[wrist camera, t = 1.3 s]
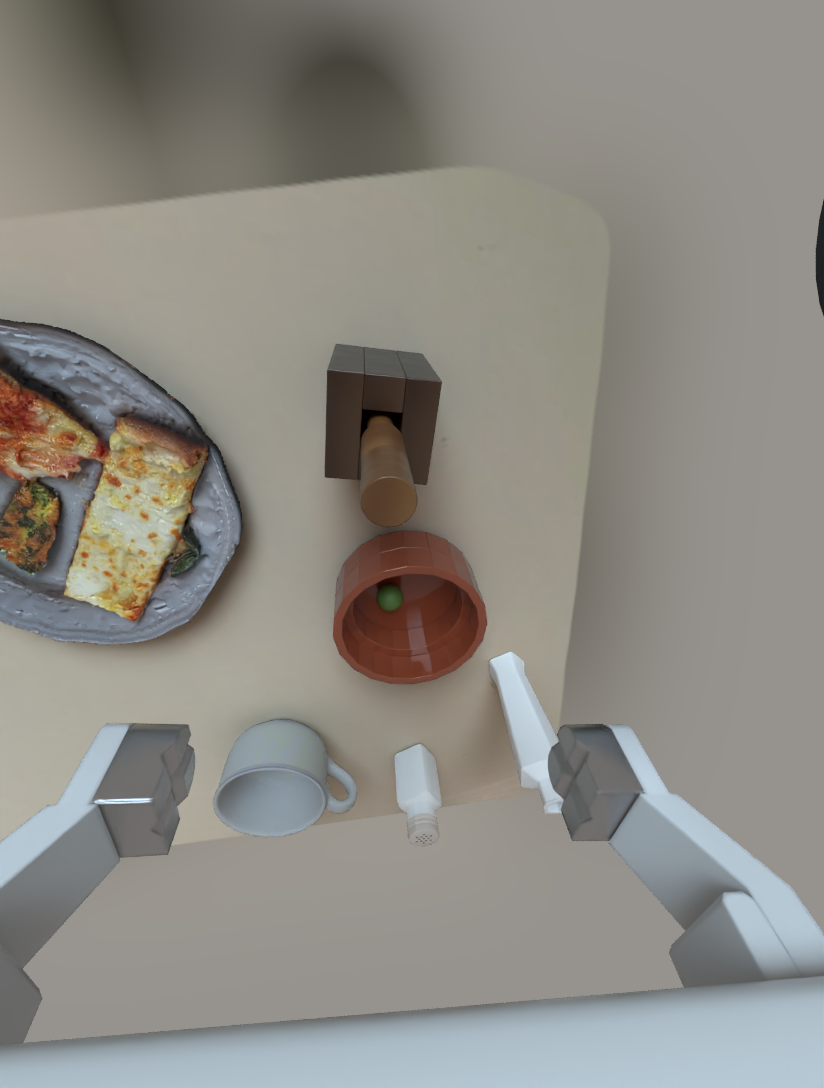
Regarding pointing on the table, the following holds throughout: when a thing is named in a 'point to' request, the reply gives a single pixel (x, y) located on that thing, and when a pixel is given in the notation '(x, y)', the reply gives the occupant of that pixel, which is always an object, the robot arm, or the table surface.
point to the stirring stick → (385, 473)
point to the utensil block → (379, 406)
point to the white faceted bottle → (526, 728)
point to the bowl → (408, 609)
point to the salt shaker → (418, 793)
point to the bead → (389, 597)
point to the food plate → (103, 495)
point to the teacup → (279, 781)
